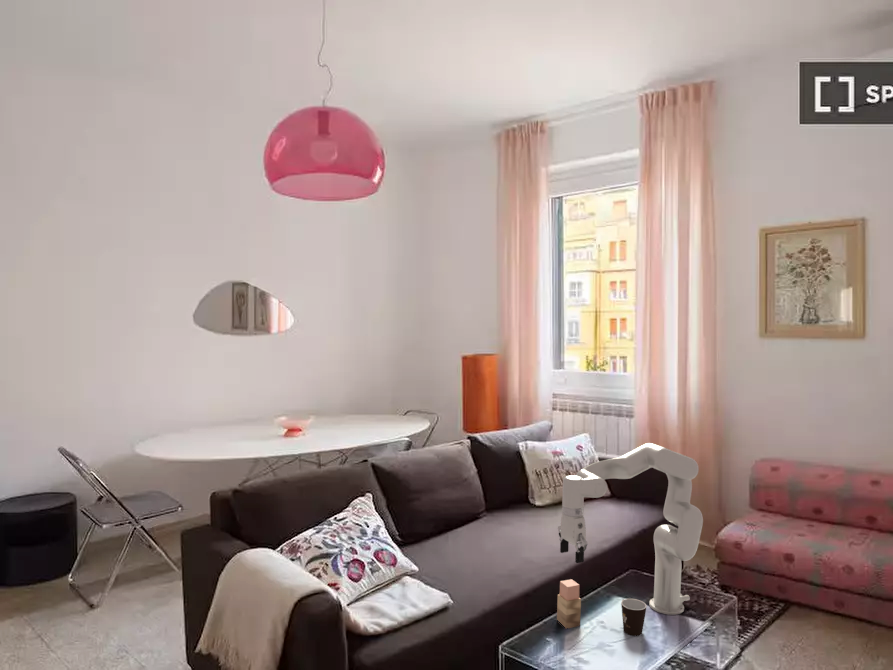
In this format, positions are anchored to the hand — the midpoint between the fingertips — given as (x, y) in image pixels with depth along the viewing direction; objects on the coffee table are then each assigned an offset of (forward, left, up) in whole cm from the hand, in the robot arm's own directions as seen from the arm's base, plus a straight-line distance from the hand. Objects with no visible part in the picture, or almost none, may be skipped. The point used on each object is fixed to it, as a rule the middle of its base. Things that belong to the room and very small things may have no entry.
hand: (571, 557), depth 241 cm
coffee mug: (-18, +12, -25) cm, 33 cm away
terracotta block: (+1, 0, -14) cm, 14 cm away
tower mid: (+1, 0, -19) cm, 19 cm away
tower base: (+1, 0, -24) cm, 24 cm away
